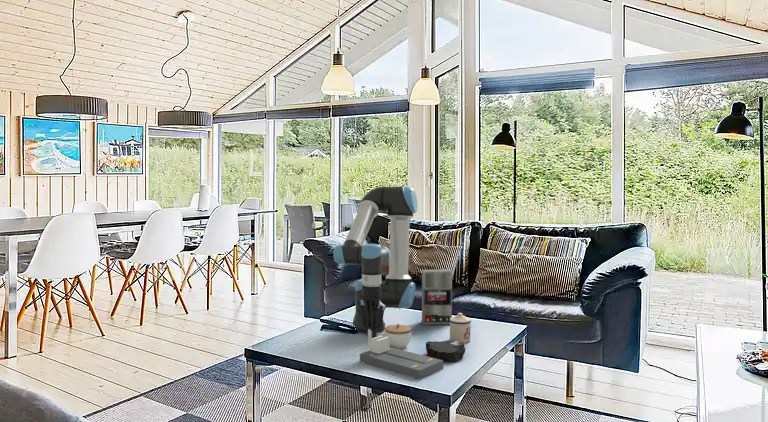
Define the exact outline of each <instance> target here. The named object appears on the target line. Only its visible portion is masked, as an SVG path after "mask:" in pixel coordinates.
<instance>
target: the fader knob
mask: <svg viewBox="0 0 768 422" xmlns="http://www.w3.org/2000/svg"><path fill="white" fill-rule="evenodd" d="M389 347H390V345H389V337H386V336H385V335H379V336H377V337H375V338H372V339H371V347H370V350H371V352H373V353H377V354H380V353H383V352H386V351H388V350H389Z"/></svg>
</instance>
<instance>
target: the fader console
mask: <svg viewBox="0 0 768 422" xmlns="http://www.w3.org/2000/svg"><path fill="white" fill-rule="evenodd" d="M360 361H361V362H360ZM359 362H360V363H362V362H364V363H363V364H365V363H367V364H366V365H369V364H370V365H369V366H372V365H373V367H376V368H380V369H382V370H387V371H391V372H393V373H397V374H400V375H404V376H408V377H411V378H414V379H417V380H418V379H419V380H421V379H424V378H425V377H427V376H430V375H432V374H434V373H436V372H438V371H439V372H440V371H441V370H444V362H443V360H440V359H436V358H432V357H428V356H427V355H423V354H419V353H416V352H412V351H411V352H410V351H407V350H403V349H396V348H392V347H391V346H389V350H388V351H386V352H383V353H380V354H377V353H373V352H371V349H370V350H368V351H364V352H363V353H362V352H361V353H360V354H359Z"/></svg>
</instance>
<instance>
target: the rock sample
mask: <svg viewBox="0 0 768 422" xmlns="http://www.w3.org/2000/svg"><path fill="white" fill-rule="evenodd" d="M466 349H467V348H466V347H465V343H462V342H460V341H455V340H450V339H449V340H442V341H434V340H433V341H429V340H428V341H426V343H425V350H426V356H428V357H432V358H436V359H440V360H443V363H451V362H452V363H453V362H456V361H459V360H462V359H463V357H464V354H465V352H466Z"/></svg>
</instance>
